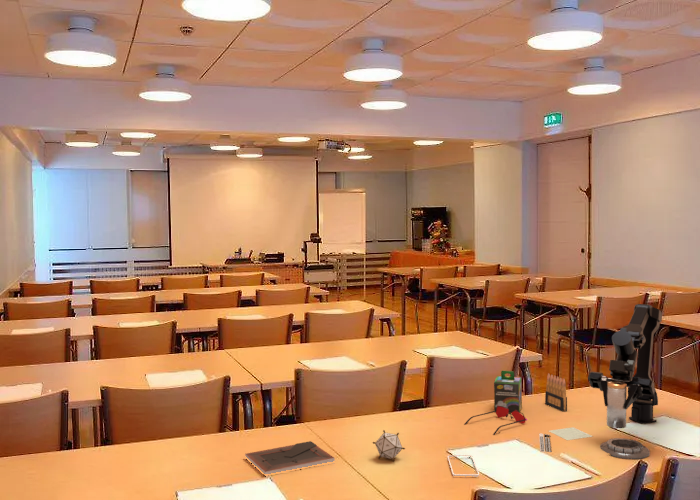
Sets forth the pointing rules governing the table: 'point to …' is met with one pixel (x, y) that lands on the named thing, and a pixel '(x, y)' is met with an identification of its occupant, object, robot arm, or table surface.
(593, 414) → the table surface
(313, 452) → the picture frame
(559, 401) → the ammunition clip
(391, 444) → the game die
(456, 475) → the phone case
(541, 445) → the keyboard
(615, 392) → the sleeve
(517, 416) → the glasses
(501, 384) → the chalk box
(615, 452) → the hub flange
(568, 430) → the stand pad
